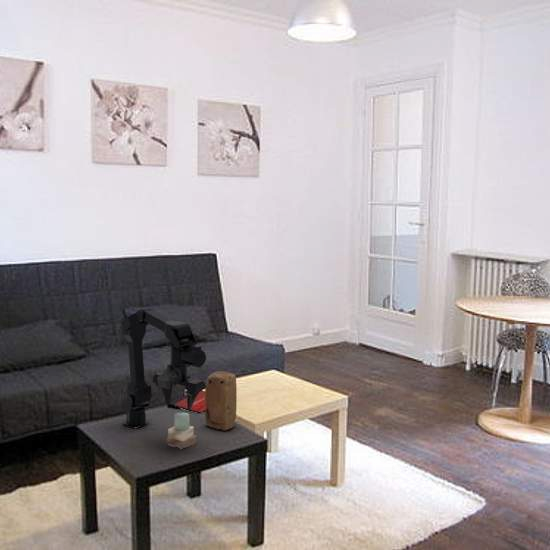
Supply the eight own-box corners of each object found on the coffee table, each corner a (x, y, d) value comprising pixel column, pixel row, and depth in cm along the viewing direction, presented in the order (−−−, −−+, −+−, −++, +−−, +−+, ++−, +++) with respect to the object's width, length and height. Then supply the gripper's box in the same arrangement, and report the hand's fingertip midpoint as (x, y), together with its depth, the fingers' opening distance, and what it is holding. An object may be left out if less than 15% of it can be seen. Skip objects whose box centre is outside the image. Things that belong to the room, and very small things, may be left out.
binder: (167, 402, 251) (196, 388, 270) (166, 408, 251) (196, 394, 270) (201, 411, 244) (229, 396, 263) (201, 417, 244) (229, 401, 263)
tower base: (166, 446, 214) (166, 437, 214) (180, 439, 220) (181, 431, 219) (182, 451, 210) (182, 442, 210) (196, 444, 216) (196, 435, 216)
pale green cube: (171, 428, 213) (171, 415, 213) (181, 424, 218) (181, 411, 217) (182, 432, 211) (182, 418, 210) (192, 427, 215) (192, 414, 214)
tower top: (168, 437, 213) (168, 429, 213) (178, 432, 219) (178, 423, 218) (183, 441, 211) (183, 432, 210) (193, 435, 216) (193, 426, 216)
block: (238, 426, 232) (238, 373, 229) (226, 433, 225) (227, 378, 223) (213, 420, 237) (213, 368, 235) (201, 427, 231) (201, 373, 228)
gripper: (141, 361, 210) (141, 407, 212) (184, 371, 200) (184, 419, 202) (164, 354, 220) (164, 398, 222) (206, 364, 210) (206, 409, 212)
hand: (178, 406), depth 214 cm, fingers open, 9 cm apart
